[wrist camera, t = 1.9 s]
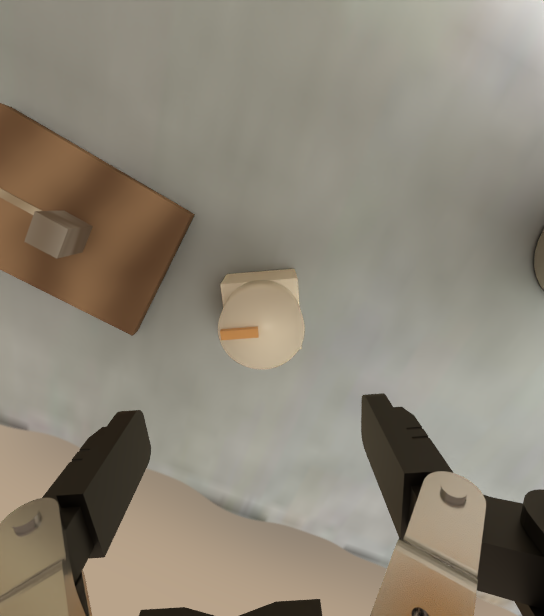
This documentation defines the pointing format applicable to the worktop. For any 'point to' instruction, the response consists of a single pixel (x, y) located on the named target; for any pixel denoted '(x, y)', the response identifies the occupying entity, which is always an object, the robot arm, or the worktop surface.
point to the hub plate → (97, 201)
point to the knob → (261, 318)
